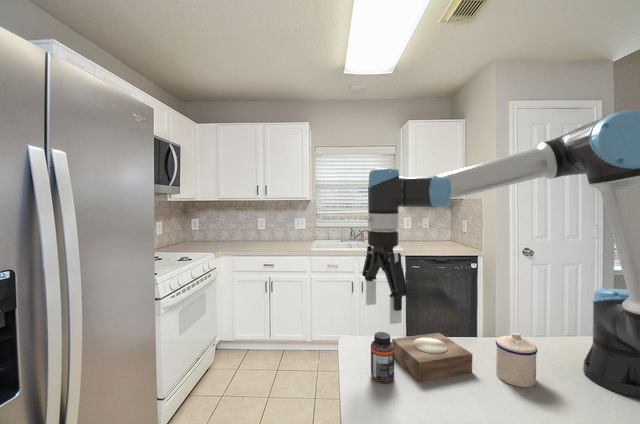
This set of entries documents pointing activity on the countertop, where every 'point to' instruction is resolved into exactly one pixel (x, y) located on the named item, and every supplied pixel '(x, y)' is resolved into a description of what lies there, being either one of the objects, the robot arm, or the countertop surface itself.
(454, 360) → the walnut stand
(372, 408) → the countertop surface
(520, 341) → the cream ceramic oval pot
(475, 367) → the countertop surface
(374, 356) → the supplement bottle
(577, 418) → the countertop surface
